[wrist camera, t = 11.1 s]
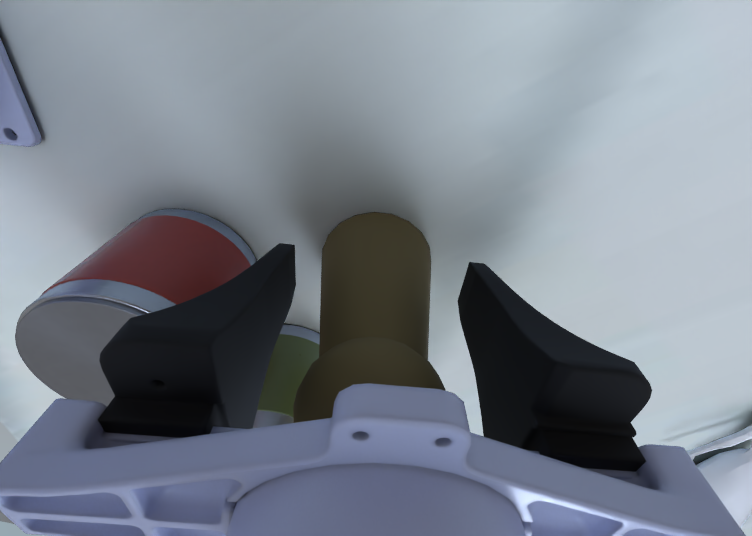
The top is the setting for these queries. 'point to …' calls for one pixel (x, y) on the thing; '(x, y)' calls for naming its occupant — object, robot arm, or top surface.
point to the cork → (370, 312)
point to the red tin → (123, 294)
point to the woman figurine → (730, 473)
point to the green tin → (286, 374)
